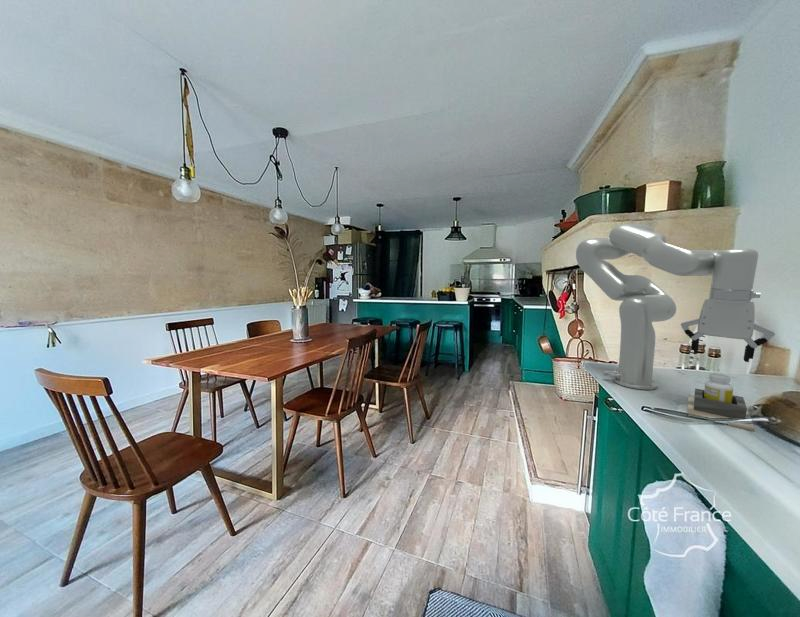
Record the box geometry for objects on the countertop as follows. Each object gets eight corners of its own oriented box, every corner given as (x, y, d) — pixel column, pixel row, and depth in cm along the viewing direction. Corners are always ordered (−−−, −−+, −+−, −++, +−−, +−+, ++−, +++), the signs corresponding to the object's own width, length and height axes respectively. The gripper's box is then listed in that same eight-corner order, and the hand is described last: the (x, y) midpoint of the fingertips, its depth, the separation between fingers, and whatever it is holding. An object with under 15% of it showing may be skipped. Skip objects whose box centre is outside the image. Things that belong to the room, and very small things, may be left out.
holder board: (754, 431, 73) (756, 414, 73) (686, 415, 82) (688, 400, 81) (746, 410, 84) (748, 394, 84) (688, 398, 93) (689, 384, 92)
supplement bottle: (726, 407, 84) (730, 374, 83) (733, 415, 79) (738, 380, 78) (700, 403, 87) (703, 371, 86) (705, 410, 83) (709, 376, 81)
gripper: (778, 297, 76) (766, 360, 79) (685, 292, 88) (677, 348, 91) (784, 299, 71) (771, 367, 73) (684, 294, 83) (676, 353, 86)
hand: (719, 356), depth 82 cm, fingers open, 9 cm apart
